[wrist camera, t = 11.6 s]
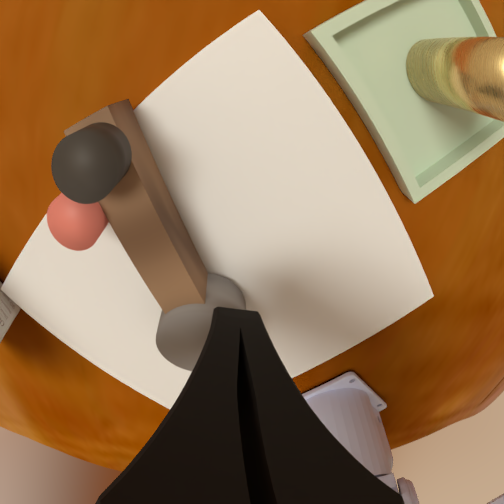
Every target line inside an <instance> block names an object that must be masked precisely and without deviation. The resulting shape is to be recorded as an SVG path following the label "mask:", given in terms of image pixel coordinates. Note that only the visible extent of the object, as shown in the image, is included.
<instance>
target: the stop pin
mask: <svg viewBox="0 0 504 504" xmlns="http://www.w3.org/2000/svg"><path fill="white" fill-rule="evenodd" d="M406 70H407V75H408V78H409V81H410V83H411V85H412V87H413V88H414V90H415V91H416V92H417V93H418V94H419V95H420V96H421V97H422V98H424V99H425V100H427V101H430V102H434V103H438V104H443V105H447V106H451V107H455V108H459V109H463V110H466V111H470V112H474V113H477V114H480V115H484V116H487V117H490V118H493V119H497V120H500V121H503V122H504V37H451V38H435V39H424V40H420V41H418V42H416V43H415V44H414V45H413V46H412V47H411V48H410V50H409V52H408V55H407V59H406Z"/></svg>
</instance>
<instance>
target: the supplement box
mask: <svg viewBox="0 0 504 504" xmlns="http://www.w3.org/2000/svg"><path fill="white" fill-rule="evenodd" d="M2 285H3V284H2V283H1V281H0V342H1V341H2V339H3V337H4V335H5V334H6V332H7V330H8V329H9V327H10V325H11V324H12V322H13V320H14V319H15V317H16V316H17V314H18V313H19V311H20V309H21V308H20V307H19V306H18V305H17V304H16V303H15V302H14V301H13V300H11V299H10V298H9V297H8V296H7V295H6V294H5V293H4V292H3V291H2V290H1V287H2Z"/></svg>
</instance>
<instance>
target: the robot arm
mask: <svg viewBox="0 0 504 504" xmlns="http://www.w3.org/2000/svg"><path fill="white" fill-rule="evenodd" d="M386 407H387V405H386V403H385V402H384V401H383V400H382V399H381V398H380V397H379V396H378V395H377V394H376V393H375V392H374V391H373V390H372V389H371V388H370V387H369V386H368V385H367V384H366V383H365V382H364V381H363V380H361V379H360V378H359V377H358V376H357V375H356V374H355V373H354V372H347V373H345V374H343V375H341V376H339V377H337V378H335V379H333V380H331V381H329V382H327V383H325V384H323V385H321V386H319V387H317V388H314V389H312V390H310V391H308V392H306V393H304V394H301V393H300V391H299V389H298V388H297V386H296V385H295V383H294V382H293V380H292V378H291V377H290V375H289V373H288V371H287V370H286V368H285V366H284V364H283V362H282V361H281V359H280V357H279V355H278V353H277V351H276V349H275V347H274V345H273V343H272V341H271V339H270V337H269V334H268V332H267V330H266V328H265V325H264V323H263V321H262V318H261V315H260V314H259V313H258V311H250V310H242V309H234V308H226V307H216V308H214V310H213V315H212V321H211V327H210V330H209V333H208V336H207V339H206V342H205V344H204V346H203V349H202V351H201V354H200V356H199V358H198V360H197V363H196V365H195V367H194V369H193V370H192V372H191V374H190V376H189V378H188V380H187V382H186V384H185V386H184V388H183V389H182V391H181V393H180V395H179V396H178V398H177V400H176V401H175V403H174V404H173V406H172V408H171V409H170V411H169V412H168V414H167V415H166V417H165V418H164V420H163V421H162V423H161V424H160V425H159V427H158V428H157V430H156V431H155V433H154V434H153V435H152V437H151V438H150V439H149V441H148V442H147V443H146V444H145V446H144V447H143V448H142V449H141V451H140V452H139V453H138V454H137V455H136V457H135V458H134V459H133V460H132V462H131V463H130V464H129V465H128V466H127V467H126V469H125V470H124V471H123V472H122V473H121V474H120V475H119V476H118V477H117V478H116V479H115V480H114V481H113V482H112V484H111V485H110V486H109V487H108V488H107V489H106V490H105V491H104V492H103V493H102V494H101V495H100V496H99V498H98V500H97V502H96V504H419V501H418V498H417V494H416V491H415V488H414V486H413V483H412V482H411V481H410V480H406V479H405V478H400V479H397V483H398V488H399V492H398V489H397V485H396V481H395V478H394V474H393V473H392V472H391V470H392V466H393V457H392V453H391V449H390V446H389V443H388V439H387V436H386V433H385V430H384V427H383V423H382V420H381V417H380V414H379V411H381V410H383V409H385V408H386ZM487 504H504V494H502V495H500V496H499V497H497V498H495V499H494V500H492V501H490V502H488V503H487Z"/></svg>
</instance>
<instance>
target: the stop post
mask: <svg viewBox="0 0 504 504" xmlns="http://www.w3.org/2000/svg"><path fill="white" fill-rule="evenodd" d="M47 223H48V227H49V230H50V232H51V234H52V235H53V237H54V238H55V239H56V240H57V241H58V242H59V243H60V244H61V245H63V246H64V247H66V248H68V249H71V250H75V251H82V250H86V249H89V248H90V247H92V246H93V245H94V244H95V242H96V241H97V239H98V238H99V236H100V235H101V233H102V232H103V230H104V229H105V228H106V226H107V225H108V223H109V221H108V219H107V218H106V216H105V214H104V212H103V210H102V208H101V206H100V204H99V203H98V202H96V203H92V204H81V203H77V202H74V201H72V200H70V199H69V198H67V197H66V196H65V195H64V194H63V193H61V194H60V195H59V196H58V197H57V198H56V199H54V200H53V201H52V203H51V204H50V206H49V208H48V211H47Z"/></svg>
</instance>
